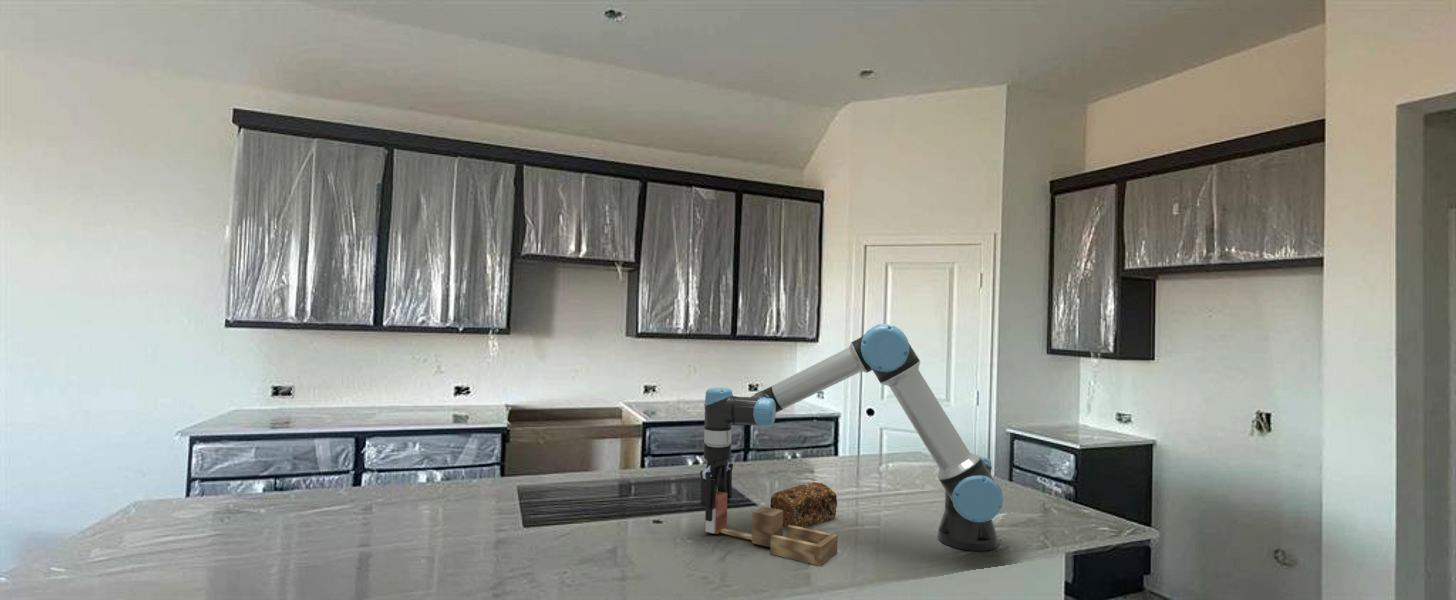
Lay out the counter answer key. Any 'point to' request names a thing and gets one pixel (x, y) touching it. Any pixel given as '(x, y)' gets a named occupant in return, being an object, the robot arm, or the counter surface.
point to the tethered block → (762, 522)
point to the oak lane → (805, 545)
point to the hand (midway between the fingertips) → (715, 529)
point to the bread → (805, 504)
